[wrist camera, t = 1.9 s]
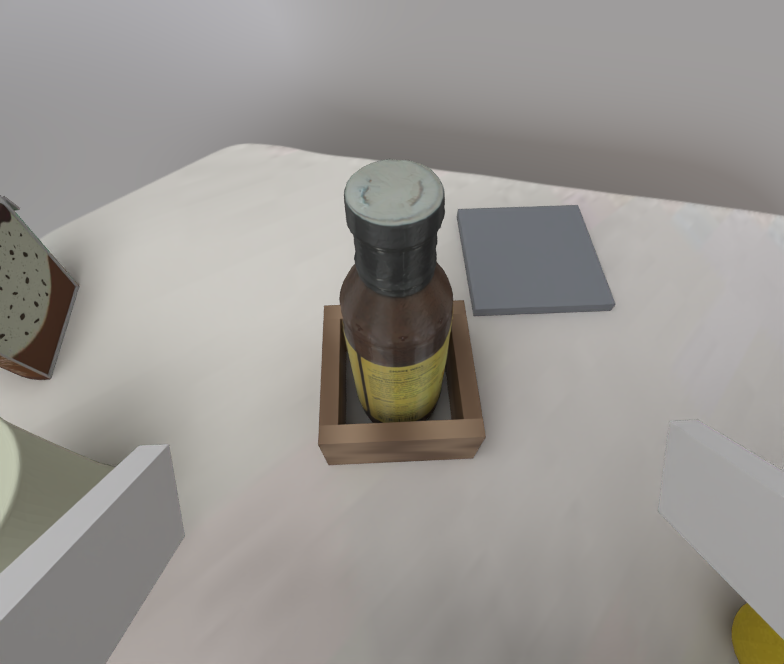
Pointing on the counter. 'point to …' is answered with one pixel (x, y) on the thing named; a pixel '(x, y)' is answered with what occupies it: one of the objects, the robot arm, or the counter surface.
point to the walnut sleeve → (399, 437)
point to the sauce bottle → (396, 290)
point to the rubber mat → (531, 261)
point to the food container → (30, 299)
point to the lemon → (755, 639)
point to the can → (37, 487)
